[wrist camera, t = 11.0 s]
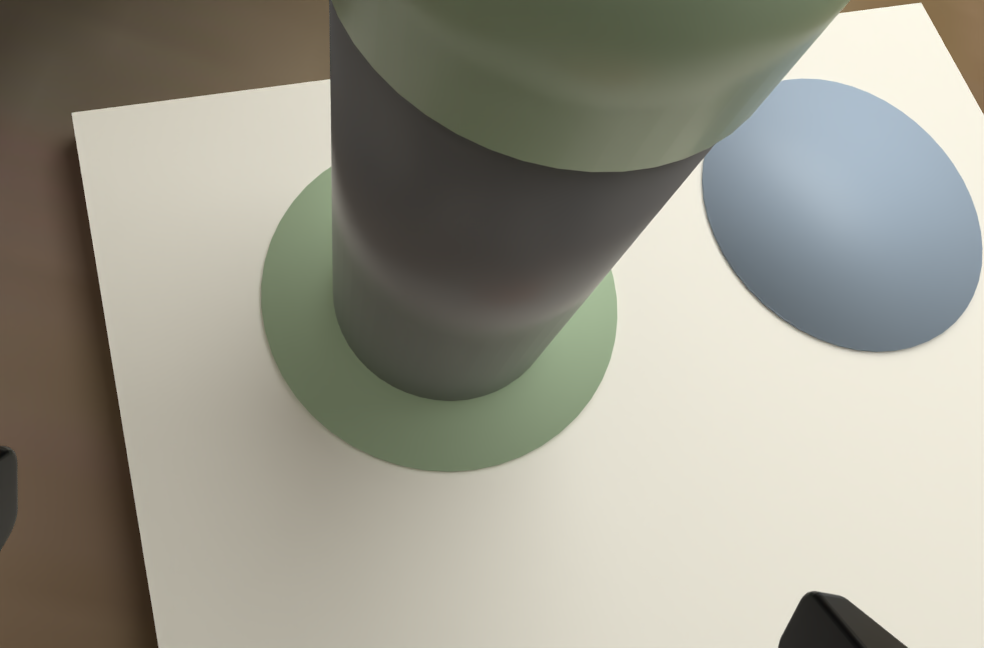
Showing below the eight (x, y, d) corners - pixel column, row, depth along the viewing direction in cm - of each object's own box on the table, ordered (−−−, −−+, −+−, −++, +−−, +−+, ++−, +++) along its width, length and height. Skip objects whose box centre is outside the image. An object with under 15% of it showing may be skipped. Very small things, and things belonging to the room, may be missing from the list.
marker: (603, 313, 18) (1121, -241, 6) (431, 455, 16) (698, 47, 4) (460, 151, 18) (673, -620, 7) (278, 268, 16) (141, -521, 5)
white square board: (1362, 863, 17) (1414, 876, 17) (316, 1540, 11) (315, 1617, 10) (903, 21, 24) (923, 0, 23) (82, 133, 18) (69, 110, 17)
